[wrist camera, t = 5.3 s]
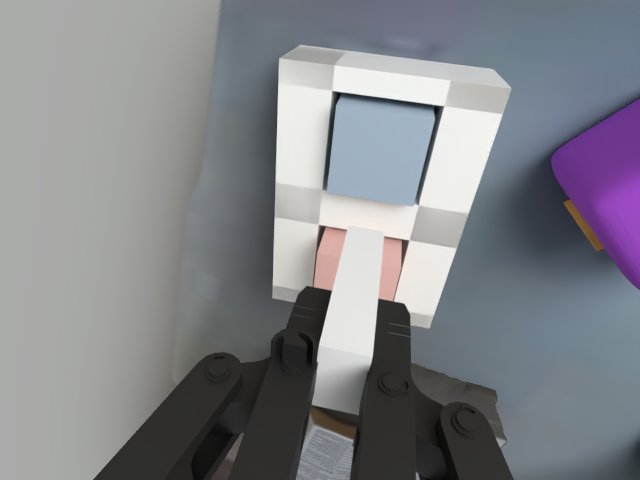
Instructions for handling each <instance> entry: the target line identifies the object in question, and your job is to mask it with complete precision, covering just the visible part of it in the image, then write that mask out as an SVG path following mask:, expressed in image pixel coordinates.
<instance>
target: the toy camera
mask: <svg viewBox="0 0 640 480" xmlns="http://www.w3.org/2000/svg"><path fill="white" fill-rule="evenodd" d="M551 166H552V170H553V173H554V175H555V177H556V179H557V180H558V182H559V184H560V185H561V187H562V188H563V190H564V191H565V193H566V194H567V196H568V197H569V200H567V201H565V202H564V205H565V206H566V208H567V209H568V211H569V212H570V214H571V215H572V216H573V218H574V219H575V221H576V222H577V224H578V225H579V227H580V228H581V229H582V231H583V232H584V234H585V235H586V237H587V238H588V239H589V241H590V242H591V244H592V245H593V247H594V248H595V250H596V251H600V250H603V249H605V250H606V252H607V253H608V254H609V256H610V257H611V258H612V260H613V261H614V263H615V264H616V265H617V267H618V268H619V269H620V271H621V272H622V273H623V274H624V276H625V277H626V278H627V279H628V280H629V281H630V282H631V283H632V284H633V285H634V286H635V287H636V288H637V289H639V290H640V99H638V100H636V101H635V102H633V103H631V104H630V105H628V106H626V107H625V108H623V109H621V110H620V111H618V112H616V113H615V114H613V115H611V116H610V117H608V118H606V119H605V120H603V121H602V122H600V123H598V124H597V125H595V126H593V127H592V128H590V129H588V130H587V131H585V132H583V133H582V134H580V135H578V136H577V137H575V138H574V139H572V140H570V141H569V142H567V143H566V144H564V145H563V146H562V147H560V148H559V149H558V150H557V151H556V152H555V153H554V154H553V156H552V158H551Z"/></svg>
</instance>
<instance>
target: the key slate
mask: <svg viewBox="0 0 640 480" xmlns="http://www.w3.org/2000/svg"><path fill="white" fill-rule="evenodd" d="M434 122H435V116H434V110H433V105H432V104H425V103H417V102H410V101H403V100H395V99H388V98H381V97H373V96H366V95H359V94H352V93H344V92H343V94H342V96H341V97H340V99H339V101H338V103H337V105H336V112H335V121H334V130H333V139H332V148H331V158H330V167H329V176H328V185H327V193H333V194H339V195H345V196H351V197H357V198H364V199H370V200H376V201H382V202H388V203H394V204H400V205H406V206H412V207H413V206H414V202H415V198H416V194H417V190H418V186H419V182H420V178H421V174H422V170H423V166H424V162H425V158H426V154H427V150H428V146H429V142H430V138H431V134H432V130H433V126H434Z"/></svg>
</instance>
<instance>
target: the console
mask: <svg viewBox="0 0 640 480" xmlns="http://www.w3.org/2000/svg"><path fill="white" fill-rule="evenodd" d="M511 89H512V88H511V87H510V86H509V85H508V84H507V83H506V82H505V81H504V80H503V79H502V78H501V77H500V76H499V75H498V74H497V72H496V71H495V70H494V69H488V68H480V67H472V66H464V65H456V64H448V63H440V62H432V61H424V60H416V59H408V58H400V57H393V56H385V55H377V54H369V53H361V52H353V51H345V50H337V49H329V48H321V47H313V46H305V45H299V46H298V47H296V48H295V49H293V50H291V51H290V52H288V53H287V54H285V55H283V56H282V57H280V58H279V81H278V117H277V153H276V189H275V224H274V260H273V296H272V298H274V299H279V300H284V301H290V302H295V301H296V298H297V296H298V294H299V293H300V292H301V291H302V290H303V289H304V288H305V287H306V286H311V287H314V279H315V270H316V260H317V252H318V249H319V246H320V243H321V240H322V237H323V234H324V231H325V228H326V227H331V228H336V229H342V230H347V229H348V225H349V226H355V227H360V228H366V229H372V230H378V231H384V232H385V233H384V237H389V238H394V239H400V240H402V252H401V271H400V275H399V279H398V282H397V286H396V290H395V294H394V298H393V301H394V302H399V303H404V304H405V305H406V307H407V309H408V311H409V313H410V325H414V326H419V327H424V328H430V325H431V322H432V319H433V316H434V313H435V311H436V308H437V305H438V302H439V299H440V296H441V293H442V290H443V287H444V284H445V281H446V278H447V276H448V273H449V270H450V267H451V264H452V261H453V258H454V255H455V252H456V249H457V246H458V243H459V241H460V238H461V235H462V232H463V229H464V226H465V223H466V220H467V217H468V214H469V211H470V208H471V206H472V203H473V200H474V197H475V194H476V191H477V188H478V185H479V182H480V179H481V176H482V173H483V171H484V168H485V165H486V162H487V159H488V156H489V153H490V150H491V147H492V144H493V141H494V138H495V136H496V133H497V130H498V127H499V124H500V121H501V118H502V115H503V112H504V109H505V106H506V103H507V101H508V98H509V95H510V92H511ZM343 92H344V93H352V94H359V95H366V96H373V97H381V98H388V99H395V100H403V101H410V102H417V103H425V104H432V105H433V110H434V116H435V122H434V126H433V130H432V134H431V138H430V142H429V146H428V150H427V154H426V158H425V162H424V166H423V170H422V174H421V178H420V182H419V186H418V190H417V194H416V198H415V202H414V206H413V207H412V206H406V205H400V204H394V203H388V202H382V201H376V200H370V199H364V198H357V197H351V196H345V195H339V194H333V193H327V185H328V176H329V167H330V158H331V148H332V139H333V130H334V121H335V112H336V105H337V103H338V101H339V99H340V97H341V96H342V94H343Z"/></svg>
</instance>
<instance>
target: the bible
mask: <svg viewBox="0 0 640 480" xmlns="http://www.w3.org/2000/svg"><path fill="white" fill-rule="evenodd" d="M411 377H412V380H413V382H414V384H415V385H416V387H417V388H418V389H419V390H420V391H421V392H422V393H423V394H424V395H426V396H427V397H429V398H430V399H432V400H434V401H436V402H438V403H440V404H442V405H444V406H446V405H447V404H448V403H451V402H457V401H458V402H464V403H468V404H470V405H472V406H473V407H475V408H477V409H478V410H479V411H480V412H481V413H482V414H484V416H485V417H486V419H487V420H488V422H489V423H490V426H491V428H492V430H493V433H494V435H495V437H496V440H497V442H498V444H499V447H500V448H501V447H502V446H503V445H505V444H506V443H507V439H506V437H505V435H504V433H503V428H502V424H501V421H500V418H499V415H498V413H497V410H496V406H495V404H496V402H497V395H496V391H495V390H492V389H489V388H486V387H483V386H480V385H476V384H472V383H469V382H463V381H461V380H458V379H456V378H450V377H448V376H447V375H445V374H443V373H439V372H436V371H433V370H429V369H426V368H424V367H422V366H419V365H416V364H413V363H411ZM358 417H359V415H355V414H351V413H346V412H342V411H337V410H333V409H328V408H324V407H319V406H315V405H311V409H310V414H309V422H308V427H307V431H306V436H305V440H304V445H303V449H302V454H301V458H300V462H299V467H298V471H297V476H296V480H350V473H351V465H352V457H353V448H354V447H352V444H353V440H354V436H355V432H356V428H357V424H358ZM416 480H420V479H419V475H418V473H417V472H416Z"/></svg>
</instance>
